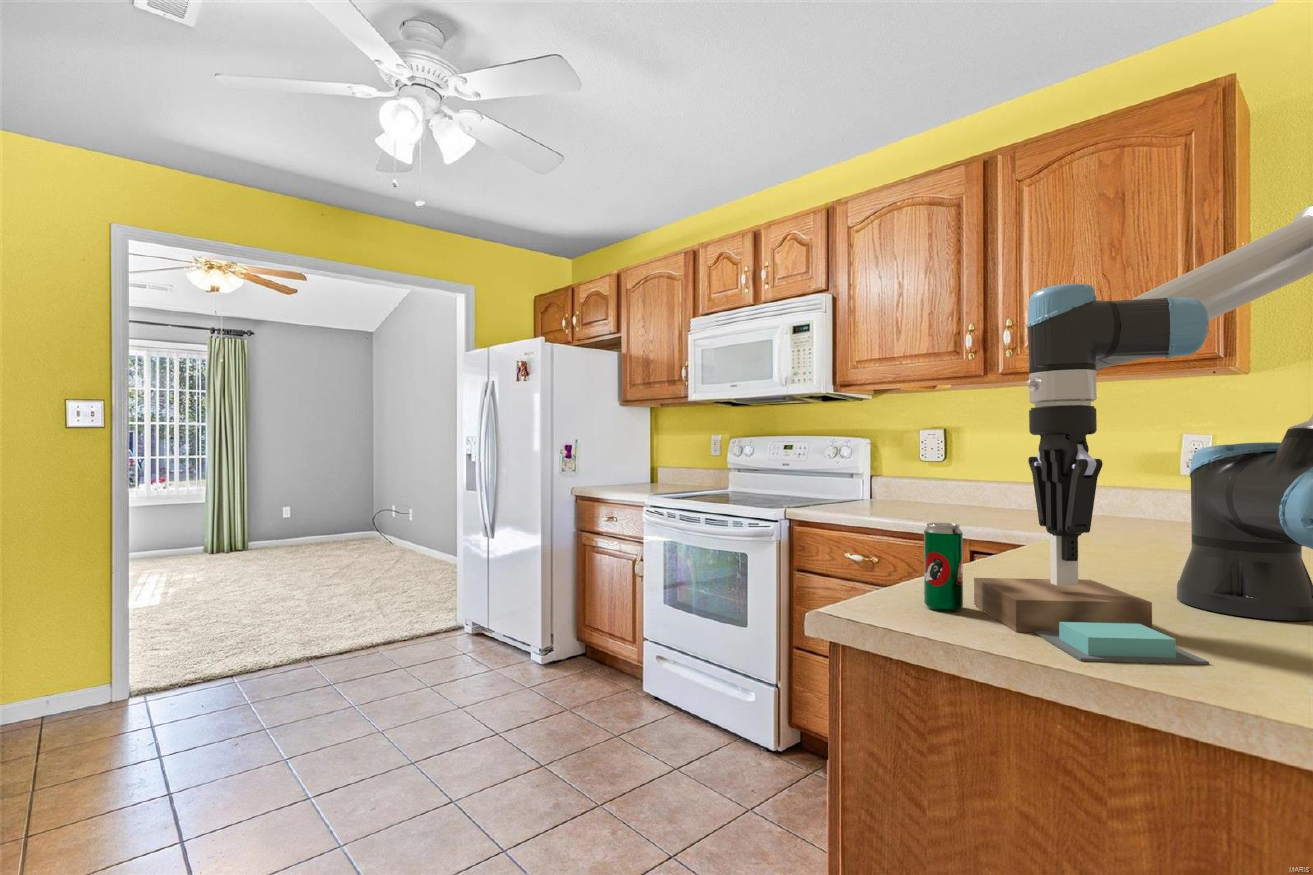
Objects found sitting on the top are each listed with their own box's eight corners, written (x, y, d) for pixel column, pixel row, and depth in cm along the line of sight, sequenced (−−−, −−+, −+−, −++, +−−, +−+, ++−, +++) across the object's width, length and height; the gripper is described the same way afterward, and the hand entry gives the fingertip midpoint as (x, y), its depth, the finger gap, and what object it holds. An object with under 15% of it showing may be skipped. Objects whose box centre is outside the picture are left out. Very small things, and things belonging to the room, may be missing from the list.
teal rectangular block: (1175, 639, 70) (1175, 657, 70) (1139, 623, 76) (1139, 640, 76) (1088, 637, 71) (1088, 655, 71) (1059, 621, 77) (1059, 638, 77)
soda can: (967, 613, 89) (966, 527, 89) (928, 612, 90) (928, 526, 90) (957, 604, 94) (957, 522, 94) (921, 603, 95) (920, 521, 95)
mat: (1146, 636, 79) (1146, 633, 79) (1208, 664, 69) (1208, 661, 69) (1034, 633, 80) (1034, 631, 80) (1080, 661, 70) (1080, 658, 70)
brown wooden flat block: (1090, 607, 92) (1090, 579, 92) (1152, 635, 79) (1152, 602, 79) (974, 605, 93) (974, 577, 93) (1016, 631, 80) (1015, 599, 80)
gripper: (1008, 408, 91) (1010, 574, 91) (1060, 402, 78) (1063, 596, 78) (1063, 407, 91) (1065, 574, 91) (1124, 401, 78) (1127, 596, 78)
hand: (1064, 584), depth 85 cm, fingers closed
